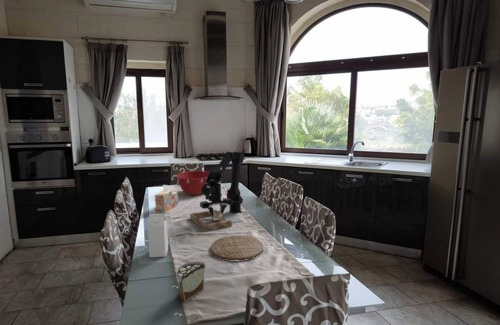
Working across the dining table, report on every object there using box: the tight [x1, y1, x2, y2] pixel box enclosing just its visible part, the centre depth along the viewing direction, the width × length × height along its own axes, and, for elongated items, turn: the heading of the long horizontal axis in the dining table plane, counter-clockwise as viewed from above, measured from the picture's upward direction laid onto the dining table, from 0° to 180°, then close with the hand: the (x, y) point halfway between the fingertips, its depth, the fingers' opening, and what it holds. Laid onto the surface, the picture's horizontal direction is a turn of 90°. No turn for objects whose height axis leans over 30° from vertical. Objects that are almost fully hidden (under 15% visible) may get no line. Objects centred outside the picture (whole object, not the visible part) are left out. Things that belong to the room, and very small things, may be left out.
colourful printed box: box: [154, 189, 179, 214], centre depth 211 cm, size 21×6×12 cm, turn 169°
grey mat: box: [222, 213, 244, 224], centre depth 191 cm, size 9×15×1 cm, turn 27°
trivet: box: [210, 235, 264, 261], centre depth 148 cm, size 25×25×2 cm
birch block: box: [210, 210, 223, 221], centre depth 186 cm, size 5×5×4 cm
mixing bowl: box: [175, 170, 210, 196], centre depth 250 cm, size 28×28×16 cm
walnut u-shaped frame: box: [189, 209, 233, 232], centre depth 184 cm, size 17×24×3 cm
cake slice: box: [175, 261, 206, 303], centre depth 111 cm, size 12×6×10 cm, turn 145°
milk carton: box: [147, 213, 169, 258], centre depth 141 cm, size 7×7×19 cm
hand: (216, 217), depth 186 cm, fingers closed on birch block, 5 cm apart
